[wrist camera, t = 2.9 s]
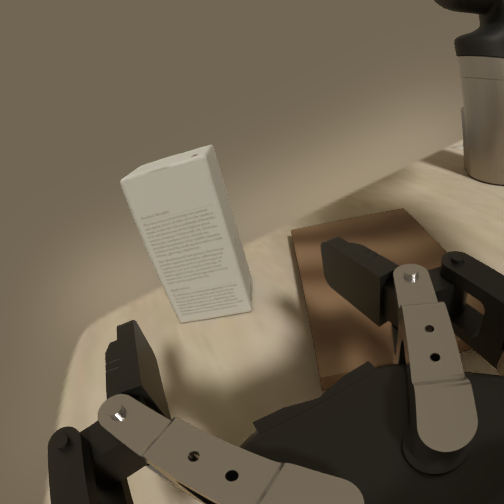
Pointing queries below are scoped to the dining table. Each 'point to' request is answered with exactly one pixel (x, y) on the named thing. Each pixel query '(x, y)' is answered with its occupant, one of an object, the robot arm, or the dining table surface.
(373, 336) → the walnut board
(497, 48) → the robot arm
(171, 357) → the dining table surface
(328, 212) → the dining table surface
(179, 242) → the skincare box
